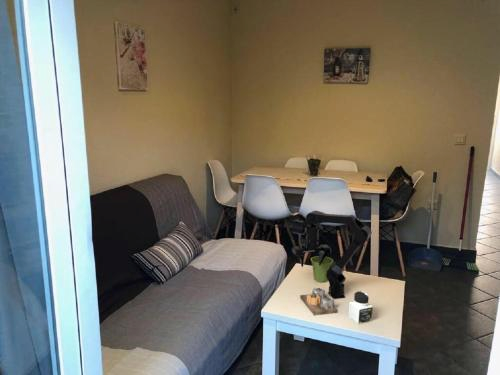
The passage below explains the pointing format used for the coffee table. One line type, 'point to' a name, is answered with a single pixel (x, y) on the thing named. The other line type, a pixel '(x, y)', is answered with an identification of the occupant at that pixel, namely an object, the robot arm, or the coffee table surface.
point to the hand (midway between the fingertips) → (310, 266)
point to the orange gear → (313, 299)
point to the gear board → (325, 303)
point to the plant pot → (321, 268)
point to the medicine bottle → (360, 308)
